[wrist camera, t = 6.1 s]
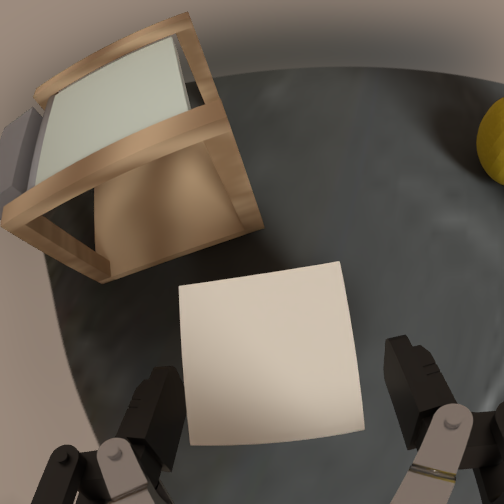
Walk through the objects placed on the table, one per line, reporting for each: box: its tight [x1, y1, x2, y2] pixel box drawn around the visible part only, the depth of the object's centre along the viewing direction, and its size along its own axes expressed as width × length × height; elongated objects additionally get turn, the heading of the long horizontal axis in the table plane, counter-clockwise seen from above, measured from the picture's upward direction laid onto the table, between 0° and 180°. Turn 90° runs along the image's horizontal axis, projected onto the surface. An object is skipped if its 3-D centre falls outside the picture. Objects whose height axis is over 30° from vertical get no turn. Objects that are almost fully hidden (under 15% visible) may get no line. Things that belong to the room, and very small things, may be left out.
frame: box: [1, 12, 265, 284], centre depth 19 cm, size 12×12×10 cm
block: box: [179, 261, 365, 445], centre depth 12 cm, size 4×4×10 cm
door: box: [0, 37, 191, 220], centre depth 15 cm, size 13×9×2 cm
